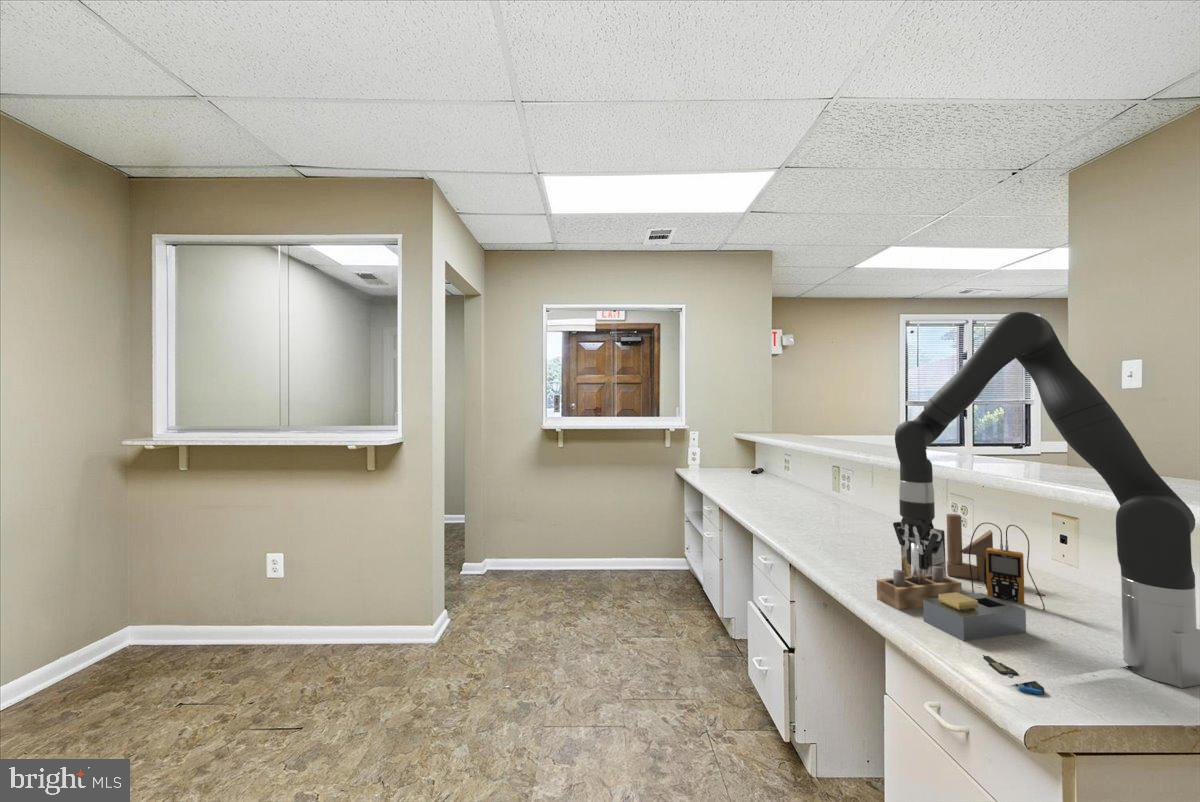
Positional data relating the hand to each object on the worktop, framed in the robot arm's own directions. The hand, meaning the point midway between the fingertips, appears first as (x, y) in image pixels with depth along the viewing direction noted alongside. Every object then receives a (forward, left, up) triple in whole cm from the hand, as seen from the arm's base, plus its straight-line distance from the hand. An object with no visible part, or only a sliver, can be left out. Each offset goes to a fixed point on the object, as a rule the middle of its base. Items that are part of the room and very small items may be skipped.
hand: (918, 566), depth 125 cm
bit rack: (0, 0, -10) cm, 10 cm away
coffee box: (+11, -13, -10) cm, 19 cm away
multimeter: (-6, -20, -10) cm, 23 cm away
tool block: (-15, 0, -10) cm, 18 cm away
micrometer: (-31, +11, -10) cm, 35 cm away
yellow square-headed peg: (-15, +5, -8) cm, 18 cm away
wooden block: (+13, -31, -10) cm, 35 cm away
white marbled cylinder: (0, 0, -6) cm, 6 cm away
